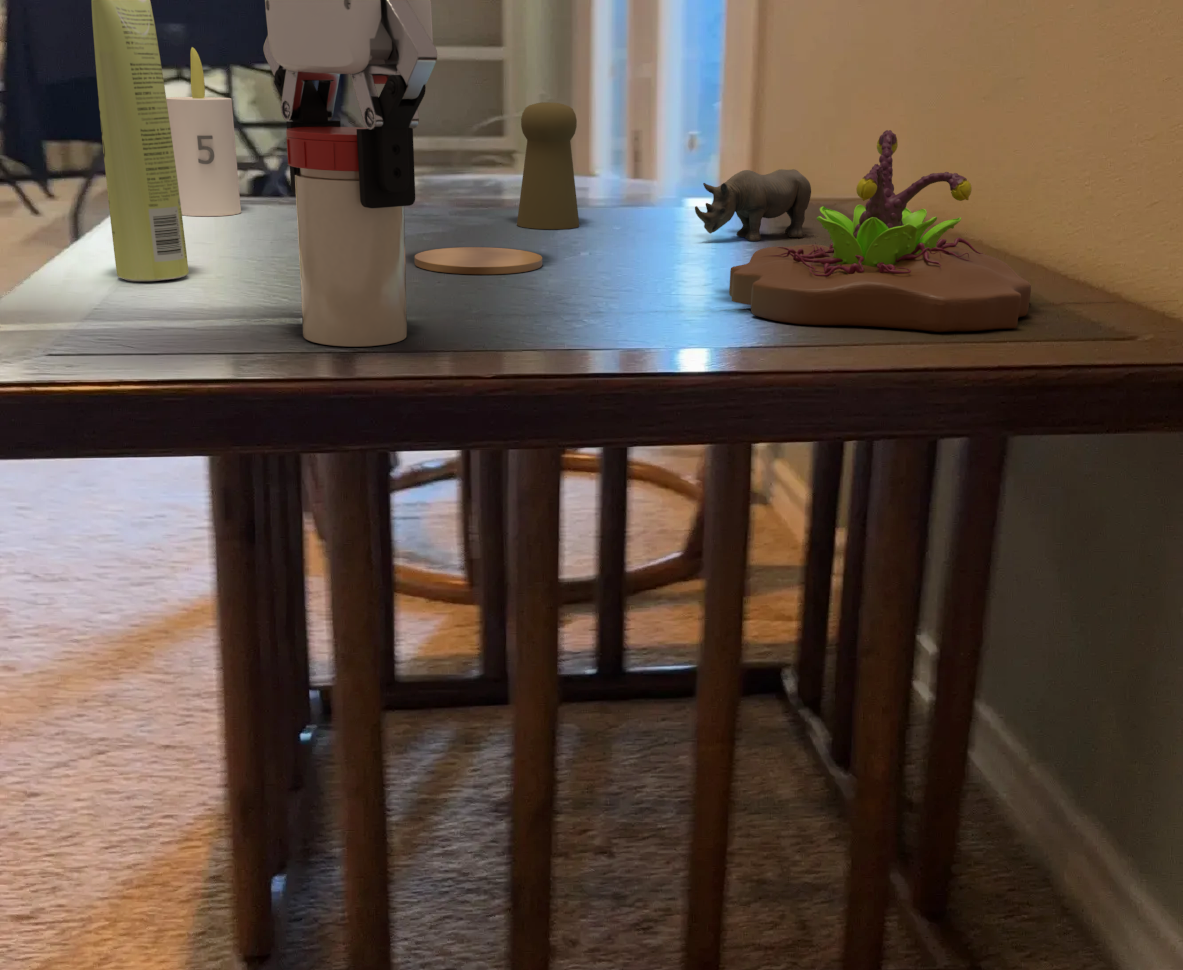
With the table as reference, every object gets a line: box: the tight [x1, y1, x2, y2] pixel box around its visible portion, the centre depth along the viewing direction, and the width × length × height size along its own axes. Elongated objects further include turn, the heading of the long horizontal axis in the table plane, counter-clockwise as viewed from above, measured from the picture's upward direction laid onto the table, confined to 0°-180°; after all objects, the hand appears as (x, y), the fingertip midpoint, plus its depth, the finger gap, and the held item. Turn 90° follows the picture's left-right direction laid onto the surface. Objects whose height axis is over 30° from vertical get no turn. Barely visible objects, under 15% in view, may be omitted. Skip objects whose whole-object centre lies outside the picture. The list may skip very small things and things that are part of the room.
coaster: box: [414, 246, 543, 276], centre depth 101 cm, size 10×10×1 cm
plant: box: [728, 129, 1032, 333], centre depth 87 cm, size 20×20×11 cm
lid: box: [285, 126, 367, 171], centre depth 71 cm, size 7×7×2 cm
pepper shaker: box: [516, 101, 580, 230], centre depth 122 cm, size 6×6×11 cm
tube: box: [91, 0, 190, 282], centre depth 89 cm, size 6×5×20 cm
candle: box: [166, 46, 242, 217], centre depth 124 cm, size 6×6×15 cm
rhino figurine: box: [694, 168, 812, 242], centre depth 117 cm, size 4×14×6 cm, turn 124°
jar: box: [295, 168, 408, 348], centre depth 74 cm, size 6×6×11 cm
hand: (351, 197), depth 73 cm, fingers closed on lid, 6 cm apart
